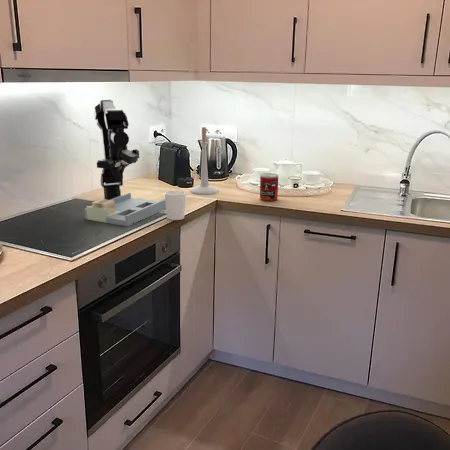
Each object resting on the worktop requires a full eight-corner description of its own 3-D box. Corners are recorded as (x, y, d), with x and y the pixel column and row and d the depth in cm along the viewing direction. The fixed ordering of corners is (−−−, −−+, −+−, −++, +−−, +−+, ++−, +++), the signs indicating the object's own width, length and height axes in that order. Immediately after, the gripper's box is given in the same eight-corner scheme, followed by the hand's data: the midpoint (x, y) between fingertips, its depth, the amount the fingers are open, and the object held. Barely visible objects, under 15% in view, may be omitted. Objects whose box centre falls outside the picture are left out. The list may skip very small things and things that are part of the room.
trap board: (85, 219, 195) (84, 206, 193) (129, 201, 218) (128, 190, 217) (127, 226, 186) (127, 213, 185) (168, 207, 210) (168, 195, 209)
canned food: (257, 200, 221) (258, 175, 218) (263, 196, 228) (263, 172, 225) (274, 202, 218) (275, 177, 215) (279, 198, 225) (280, 173, 222)
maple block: (92, 213, 194) (91, 202, 193) (102, 210, 199) (102, 198, 198) (105, 215, 192) (104, 204, 190) (115, 211, 197) (114, 200, 195)
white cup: (180, 221, 192) (179, 196, 189) (161, 219, 194) (160, 194, 191) (189, 216, 199) (188, 191, 196) (170, 214, 201) (170, 189, 198)
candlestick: (219, 188, 242) (218, 124, 233) (217, 195, 230) (217, 128, 221) (192, 187, 243) (191, 124, 234) (189, 194, 231) (188, 127, 222)
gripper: (118, 148, 186) (120, 189, 191) (147, 141, 201) (149, 179, 206) (94, 145, 190) (97, 186, 195) (125, 139, 206) (127, 176, 211)
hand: (119, 182), depth 202 cm, fingers closed
